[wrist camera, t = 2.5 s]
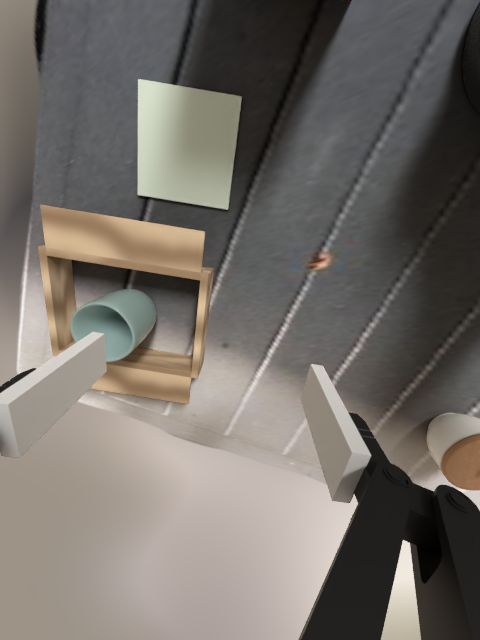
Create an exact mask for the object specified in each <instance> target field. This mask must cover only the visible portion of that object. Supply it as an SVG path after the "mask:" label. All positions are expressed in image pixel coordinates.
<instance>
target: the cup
mask: <svg viewBox="0 0 480 640" xmlns="http://www.w3.org/2000/svg"><path fill="white" fill-rule="evenodd" d="M156 319H157V311H156V307H155V305H154V303H153V301H152V300H151V299H150V298H149V296H148V295H146V294H145V293H144V292H142V291H140V290H136V289H122V290H118V291H114V292H111V293H109V294H106V295H104V296H101V297H99V298H97V299H95V300H93V301H90V302H88V303H87V304H85V305H83V306H82V307H80V308H79V309H78V310H77V311H76V312H75V313H74V314H73V316H72V318H71V321H70V330H71V334H72V336H73V338H74V340H75V342H78V341H80V340H81V339H83V338H84V337H86V336H87V335H89V334H90V333H92V332H97V333H104V334H105V347H106V362H113V361H117V360H120V359H122V358H124V357H126V356H127V355H129V354H130V353H131V352H132V351H133V350H134V349H135V348H136V347H137V346H138V345H139V344H140V343H141V342H142V341H143V340H144V339H145V338H146V337H147V335H148V334H149V333H150V332H151V330H152V329H153V327H154V325H155V322H156Z"/></svg>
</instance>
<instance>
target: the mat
mask: <svg viewBox="0 0 480 640" xmlns="http://www.w3.org/2000/svg"><path fill="white" fill-rule="evenodd" d="M241 102H242V96H236V95H231V94H225V93H219V92H213V91H207V90H201V89H195V88H189V87H183V86H177V85H171V84H165V83H159V82H153V81H147V80H141V79H138V195H141V196H147V197H153V198H159V199H165V200H171V201H177V202H183V203H189V204H196V205H202V206H208V207H214V208H220V209H226V210H228V207H229V199H230V191H231V183H232V175H233V167H234V158H235V150H236V142H237V134H238V126H239V118H240V110H241Z"/></svg>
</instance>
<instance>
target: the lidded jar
mask: <svg viewBox="0 0 480 640" xmlns="http://www.w3.org/2000/svg"><path fill="white" fill-rule="evenodd" d="M427 445H428V449H429V451H430V453H431V455H432V457H433V459H434V461H435V462H436V464H437V465H438V467H439V468H440V469H441V470H442V472H443V474H444V476H445V477H446V478H447V480H448V481H449V482H450V483H451V484H453V485H455V486H456V487H459V488H462V489H466V490H480V419H479V418H477V417H474V416H471V415H467V414H457V413H444V414H441V415H439V416H437V417H435V418H434V419H433V420H432V421H431V422H430V423H429V425H428V432H427Z"/></svg>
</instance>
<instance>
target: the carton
mask: <svg viewBox="0 0 480 640" xmlns="http://www.w3.org/2000/svg"><path fill="white" fill-rule="evenodd" d="M40 207H41V215H42V222H43V230H44V238H45V246H38V251H39V258H40V265H41V273H42V280H43V287H44V294H45V302H46V309H47V316H48V323H49V331H50V338H51V345H52V352H53V356H57V355H58V354H60V353H61V352H63V351H64V350H66V349H67V348H69V347H70V346H72V345H73V344H75V343H76V342H75V340H74V338H73V336H72V334H71V330H70V321H71V318H72V316H73V314H74V313H75V312H76V303H75V292H74V281H73V270H72V260H78V261H84V262H90V263H96V264H102V265H109V266H115V267H121V268H127V269H133V270H139V271H146V272H152V273H158V274H164V275H170V276H177V277H183V278H189V279H195V280H200V289H199V299H198V309H197V320H196V330H195V341H194V351H193V356H188V355H182V354H175V353H169V352H163V351H157V350H150V349H144V348H138V347H136V348H135V349H134V350H133V351H132V352H131V353H130V354H129V355H127V356H126V357H124V358H122V359H120V360H117V361H113V362H106V368H107V371H106V372H105V373H104V374H103V375H102V376H101V377H100V378H99V379H98V380H97V381H96V382H95V384H94V385H93V386H92V387H91V388H90V389H96V390H103V391H109V392H116V393H122V394H128V395H135V396H141V397H147V398H154V399H160V400H166V401H173V402H179V403H185V404H189V397H190V386H191V378H197V379H198V376H199V373H200V370H201V368H202V365H203V360H204V351H205V343H206V334H207V325H208V316H209V307H210V299H211V290H212V281H213V272H214V268H208V267H202V262H203V251H204V241H205V231H198V230H192V229H186V228H180V227H174V226H168V225H162V224H156V223H150V222H143V221H137V220H131V219H125V218H119V217H113V216H107V215H101V214H95V213H88V212H82V211H76V210H70V209H64V208H58V207H52V206H46V205H40Z"/></svg>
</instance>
